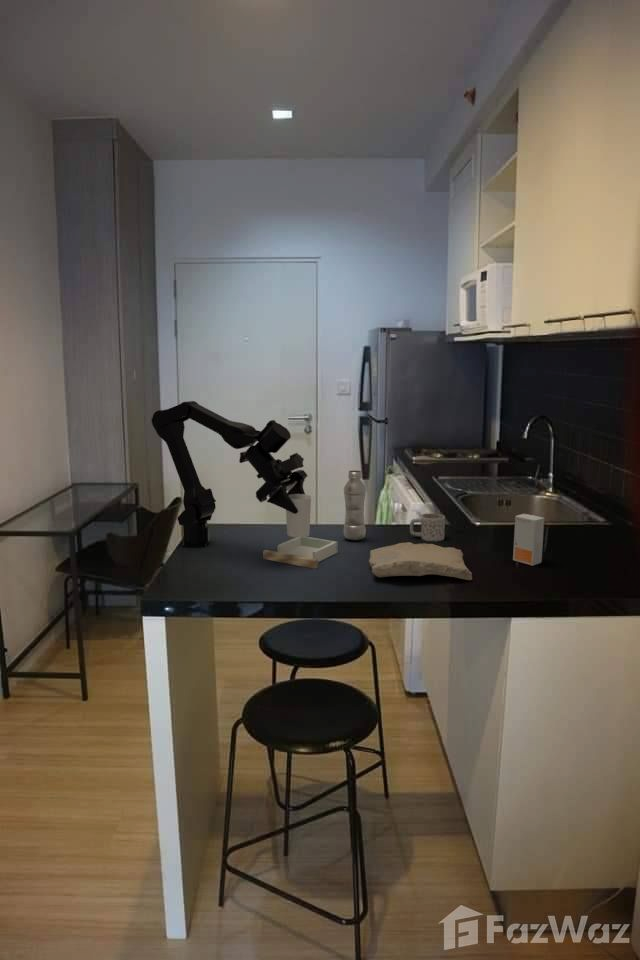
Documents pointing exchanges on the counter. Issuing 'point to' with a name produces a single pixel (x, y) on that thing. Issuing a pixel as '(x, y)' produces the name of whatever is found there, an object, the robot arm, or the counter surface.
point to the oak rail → (290, 559)
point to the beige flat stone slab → (418, 561)
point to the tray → (309, 547)
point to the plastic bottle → (354, 507)
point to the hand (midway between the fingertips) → (302, 510)
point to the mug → (430, 527)
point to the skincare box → (528, 539)
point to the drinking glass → (299, 516)
